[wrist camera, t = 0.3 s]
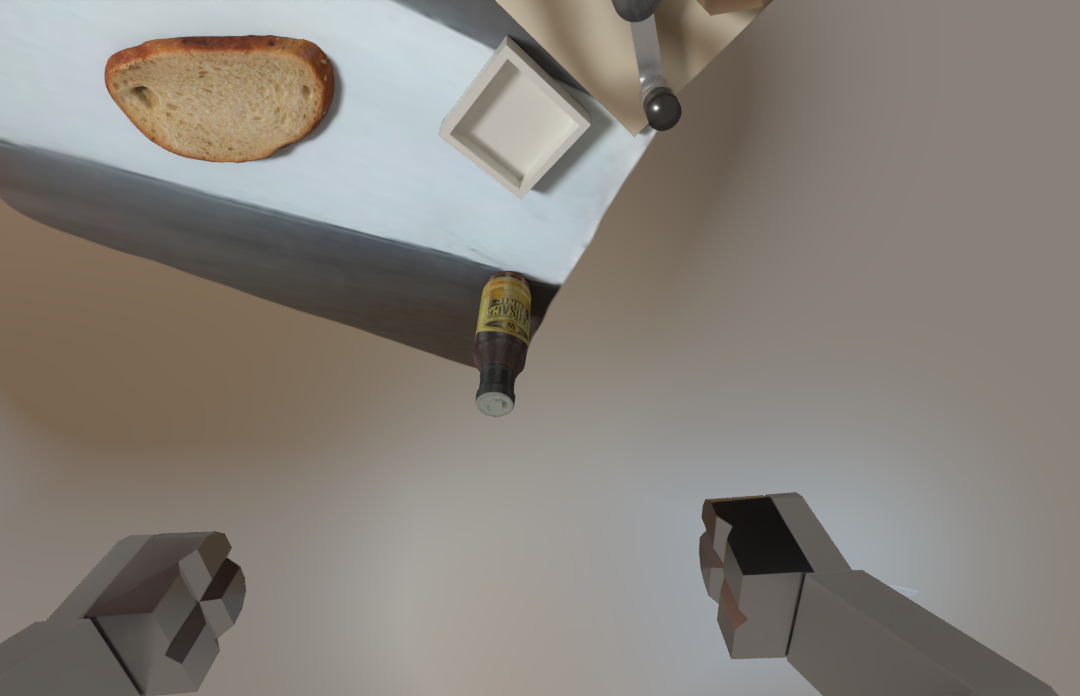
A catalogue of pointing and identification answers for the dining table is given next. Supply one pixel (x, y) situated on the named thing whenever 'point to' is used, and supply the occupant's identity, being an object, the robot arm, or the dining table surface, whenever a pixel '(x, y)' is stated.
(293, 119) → the bread slice
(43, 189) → the dining table surface
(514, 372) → the sauce bottle
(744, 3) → the block
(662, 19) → the crank board
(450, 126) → the tray
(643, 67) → the crank
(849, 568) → the robot arm
